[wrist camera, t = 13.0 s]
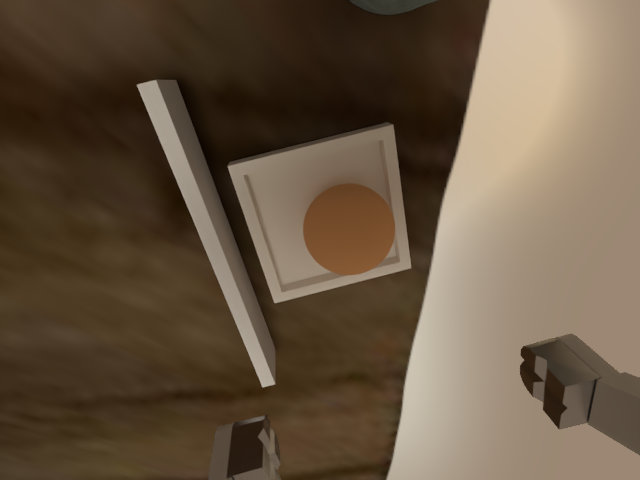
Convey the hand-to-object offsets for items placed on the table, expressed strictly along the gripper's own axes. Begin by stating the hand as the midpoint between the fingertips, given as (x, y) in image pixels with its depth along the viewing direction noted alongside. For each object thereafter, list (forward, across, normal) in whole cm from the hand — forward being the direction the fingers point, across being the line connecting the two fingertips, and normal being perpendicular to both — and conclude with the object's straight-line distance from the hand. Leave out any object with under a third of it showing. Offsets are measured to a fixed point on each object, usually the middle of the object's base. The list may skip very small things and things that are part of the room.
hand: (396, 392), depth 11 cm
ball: (+13, +1, -1) cm, 13 cm away
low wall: (+17, -8, -1) cm, 18 cm away
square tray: (+17, 0, -1) cm, 17 cm away
